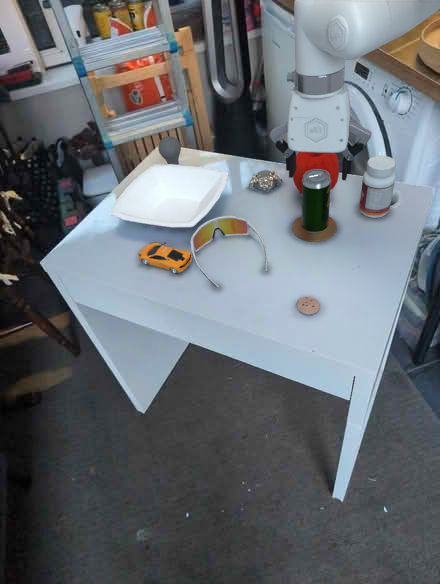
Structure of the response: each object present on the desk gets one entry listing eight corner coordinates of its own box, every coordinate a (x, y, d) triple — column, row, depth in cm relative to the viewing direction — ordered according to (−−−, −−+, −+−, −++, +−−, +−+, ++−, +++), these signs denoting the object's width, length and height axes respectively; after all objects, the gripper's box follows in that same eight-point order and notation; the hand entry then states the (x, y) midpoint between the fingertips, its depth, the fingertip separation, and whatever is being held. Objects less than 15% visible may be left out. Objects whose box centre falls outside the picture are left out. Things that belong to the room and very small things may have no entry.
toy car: (150, 246, 93) (146, 233, 91) (197, 259, 88) (194, 246, 86) (134, 263, 90) (129, 251, 88) (182, 278, 85) (178, 265, 83)
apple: (346, 199, 95) (351, 148, 87) (309, 215, 93) (310, 164, 85) (320, 179, 102) (322, 130, 93) (284, 194, 100) (283, 145, 91)
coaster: (339, 217, 92) (340, 215, 91) (332, 244, 86) (332, 243, 86) (297, 212, 94) (297, 211, 94) (288, 239, 89) (288, 237, 89)
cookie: (299, 297, 77) (299, 293, 77) (322, 300, 76) (322, 297, 75) (294, 313, 75) (294, 309, 74) (318, 317, 74) (318, 313, 73)
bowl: (202, 252, 90) (197, 230, 86) (108, 236, 98) (100, 215, 94) (239, 191, 103) (236, 169, 99) (154, 181, 111) (149, 161, 107)
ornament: (250, 198, 101) (249, 184, 98) (247, 182, 105) (246, 168, 103) (284, 193, 100) (284, 179, 97) (280, 177, 105) (280, 163, 102)
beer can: (304, 236, 88) (304, 185, 80) (299, 220, 92) (299, 170, 83) (330, 233, 88) (334, 181, 79) (325, 217, 91) (328, 166, 83)
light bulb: (161, 177, 112) (151, 141, 105) (172, 166, 115) (163, 130, 108) (179, 180, 110) (170, 144, 103) (190, 169, 113) (182, 133, 106)
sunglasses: (247, 224, 94) (246, 207, 90) (276, 274, 85) (277, 258, 81) (185, 244, 92) (181, 228, 88) (208, 298, 83) (205, 282, 79)
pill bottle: (360, 200, 95) (366, 153, 86) (390, 202, 93) (399, 154, 84) (357, 217, 91) (362, 169, 83) (388, 220, 89) (397, 171, 81)
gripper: (260, 90, 69) (268, 183, 81) (374, 88, 63) (364, 189, 75) (272, 72, 74) (277, 162, 86) (379, 68, 68) (369, 166, 80)
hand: (318, 175), depth 81 cm, fingers open, 9 cm apart
